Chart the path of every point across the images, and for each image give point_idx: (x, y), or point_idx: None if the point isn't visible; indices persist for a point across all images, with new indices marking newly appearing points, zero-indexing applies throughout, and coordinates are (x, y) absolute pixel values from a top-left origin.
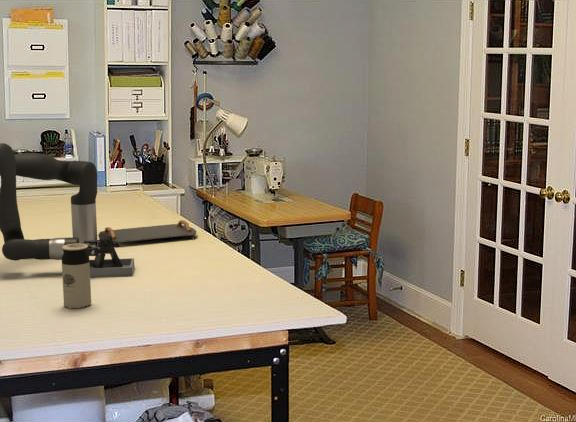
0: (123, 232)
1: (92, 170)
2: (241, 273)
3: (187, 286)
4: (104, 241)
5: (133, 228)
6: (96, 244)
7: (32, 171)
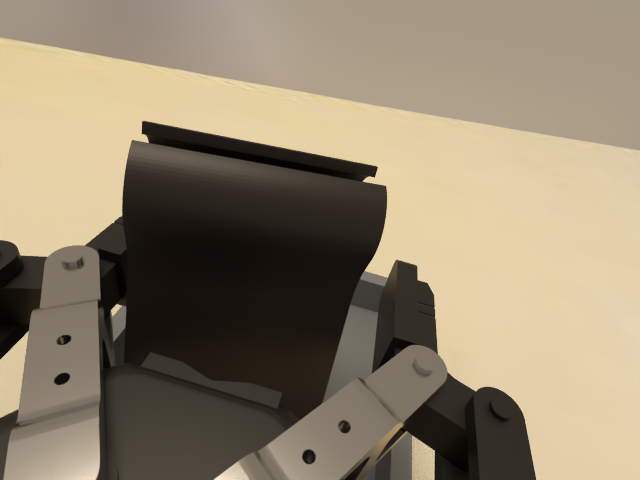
0: None
1: None
2: (414, 130)
3: (555, 229)
4: (368, 252)
5: None
6: (105, 335)
7: None
